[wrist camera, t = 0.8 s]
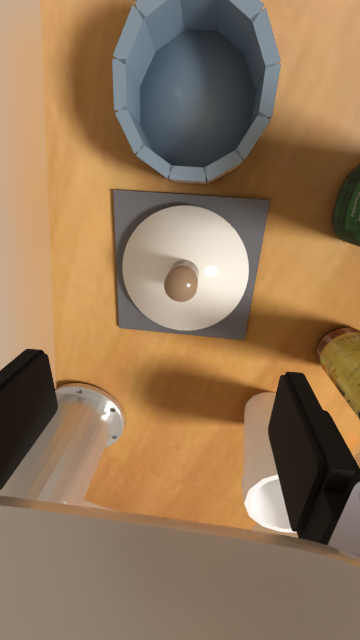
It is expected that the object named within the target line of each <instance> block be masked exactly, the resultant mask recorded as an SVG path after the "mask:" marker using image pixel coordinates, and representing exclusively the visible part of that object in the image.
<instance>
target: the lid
mask: <svg viewBox="0 0 360 640" xmlns="http://www.w3.org/2000/svg"><path fill="white" fill-rule="evenodd" d="M122 270H123V279H124V283H125V286H126V289H127V292H128V294H129V296H130V298H131V300H132V301H133V303H134V304H135V305H136V307H137V308H138V309H139V310H140V311H141V312H142V313H143V314H144V315H145V316H146V317H148V318H149V319H151V320H152V321H154V322H156V323H157V324H159V325H162V326H164V327H167V328H171V329H175V330H185V331H190V330H198V329H203V328H206V327H209V326H211V325H214V324H216V323H218V322H219V321H221V320H222V319H224V318H225V317H226V316H227V315H229V314H230V313H231V312H232V311H233V310H234V309H235V307H236V306H237V304H238V303H239V302H240V300H241V298H242V296H243V294H244V292H245V289H246V286H247V282H248V275H249V262H248V257H247V252H246V249H245V246H244V244H243V242H242V240H241V238H240V236H239V235H238V233H237V232H236V230H235V229H234V228H233V227H232V226H231V225H230V224H229V223H228V222H227V221H226V220H225V219H224V218H222V217H221V216H219V215H218V214H216V213H214V212H212V211H210V210H208V209H205V208H201V207H197V206H190V205H180V206H174V207H169V208H166V209H163V210H160V211H158V212H156V213H154V214H152V215H151V216H149V217H148V218H146V219H145V220H144V221H143V222H142V223H141V224H140V225H139V226H138V227H137V228H136V229H135V230H134V232H133V234H132V235H131V237H130V238H129V241H128V243H127V245H126V248H125V251H124V256H123V265H122Z"/></svg>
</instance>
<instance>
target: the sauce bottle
mask: <svg viewBox="0 0 360 640" xmlns="http://www.w3.org/2000/svg"><path fill="white" fill-rule="evenodd" d="M317 358H318V360H319V362H320V364H321V366H322V368H323V370H324V371H325V372H326V374H327V375H328V377H329V378H330V379H331V381H332V382H333V383H334V385H335V386H336V387H337V389H338V390H339V392H340V393H341V395H342V396H343V397H344V398H345V400H346V401H347V403H348V404H349V406H350V407H351V408H352V409H353V411H354V412H355V414H356V415H357V416H358V418H359V419H360V331H359V330H357V329H354V328H342V329H336V330H333V331H332V332H330V333H328V334H326V336H324V337H323V338H322V340H321V341H320V342H319V344H318V347H317Z"/></svg>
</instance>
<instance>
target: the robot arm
mask: <svg viewBox="0 0 360 640" xmlns="http://www.w3.org/2000/svg"><path fill="white" fill-rule="evenodd" d="M124 425H125V417H124V413H123V411H122V409H121V407H120V405H119V404H118V403H117V401H116V400H115V399H114V398H113V397H112V396H110V395H109V394H108V393H106V392H105V391H103V390H101V389H99V388H97V387H95V386H92V385H88V384H83V383H69V384H64V385H62V386H59V387H57V388H56V389H55V387H54V383H53V378H52V373H51V368H50V363H49V358H48V355H47V354H45V353H44V352H43V351H42V350H36V349H26V350H25V351H23V352H22V353H21V354H20V355H19V356H18V357H16V358H15V359H14V360H13V361H12V362H10V363H9V364H8V365H7V366H5V367H4V368H3V369H2V370H1V371H0V640H360V468H359V467H358V465H357V463H356V461H355V459H354V457H353V456H352V454H351V452H350V450H349V448H348V446H347V445H346V443H345V441H344V439H343V437H342V436H341V434H340V432H339V430H338V428H337V426H336V425H335V423H334V421H333V419H332V417H331V416H330V414H329V413H328V412H327V411H325V410H323V409H322V407H321V406H320V404H319V402H318V400H317V398H316V396H315V394H314V392H313V390H312V388H311V387H310V385H309V383H308V381H307V379H306V377H305V375H304V374H303V373H297V372H286V374H285V375H281V376H280V379H279V384H278V388H277V392H276V396H275V400H274V404H273V409H272V413H271V417H270V421H269V425H268V436H269V441H270V445H271V449H272V453H273V457H274V461H275V465H276V469H277V473H278V478H279V482H280V486H281V490H282V494H283V498H284V502H285V506H286V511H287V515H288V519H289V523H290V527H291V529H292V531H293V532H297V534H298V538H295V537H290V536H285V535H279V534H273V533H266V532H260V531H254V530H248V529H241V528H235V527H229V526H222V525H214V524H207V523H200V522H193V521H186V520H179V519H172V518H164V517H157V516H150V515H143V514H135V513H128V512H121V511H113V510H106V509H98V508H91V507H83V506H81V504H82V502H83V500H84V497H85V495H86V492H87V490H88V488H89V485H90V483H91V480H92V478H93V475H94V473H95V471H96V468H97V466H98V463H99V461H100V459H101V456H102V454H103V451H104V449H105V447H108V446H110V445H112V444H114V443H115V442H116V441H117V440H118V439H119V438H120V436H121V434H122V432H123V429H124Z"/></svg>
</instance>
